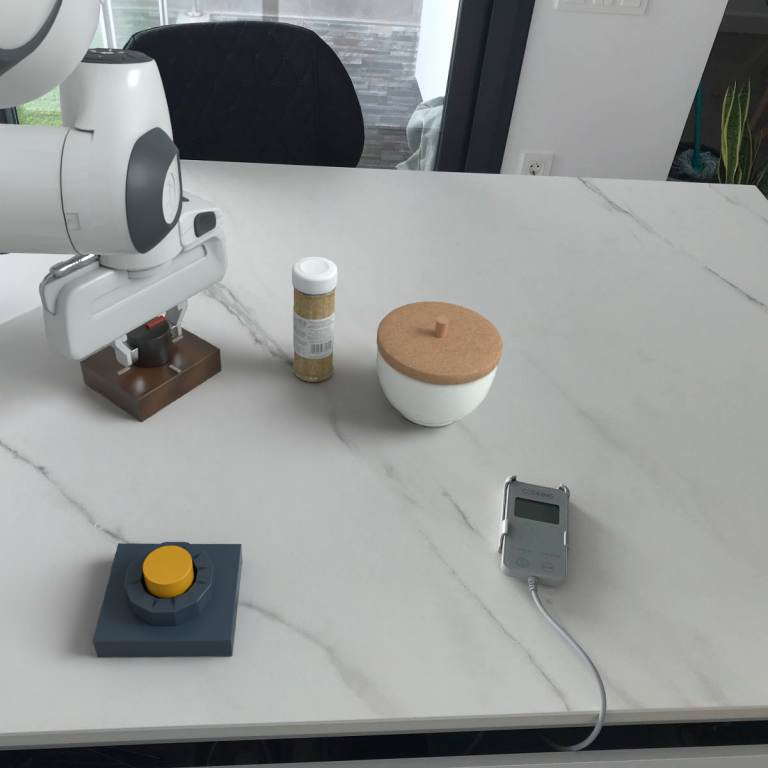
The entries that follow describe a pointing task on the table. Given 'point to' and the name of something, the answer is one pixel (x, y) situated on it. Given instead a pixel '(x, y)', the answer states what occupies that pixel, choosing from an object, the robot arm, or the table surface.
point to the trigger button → (168, 571)
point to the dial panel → (152, 375)
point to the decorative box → (436, 361)
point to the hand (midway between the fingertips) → (150, 348)
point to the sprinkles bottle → (313, 317)
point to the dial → (152, 342)
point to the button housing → (170, 605)
